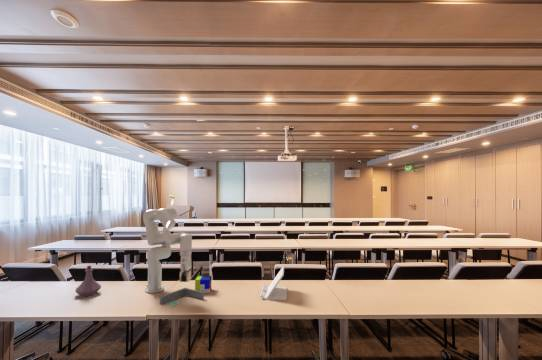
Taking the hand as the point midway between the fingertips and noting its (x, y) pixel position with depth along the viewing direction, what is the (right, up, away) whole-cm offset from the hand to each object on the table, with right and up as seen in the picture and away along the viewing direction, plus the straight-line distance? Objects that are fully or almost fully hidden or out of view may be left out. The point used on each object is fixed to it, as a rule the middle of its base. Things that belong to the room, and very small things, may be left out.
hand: (185, 279), depth 189 cm
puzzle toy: (+8, -16, +19) cm, 26 cm away
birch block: (0, -1, 0) cm, 1 cm away
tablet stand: (+60, -16, +15) cm, 63 cm away
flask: (-73, -15, +13) cm, 76 cm away
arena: (-1, -14, -2) cm, 14 cm away
